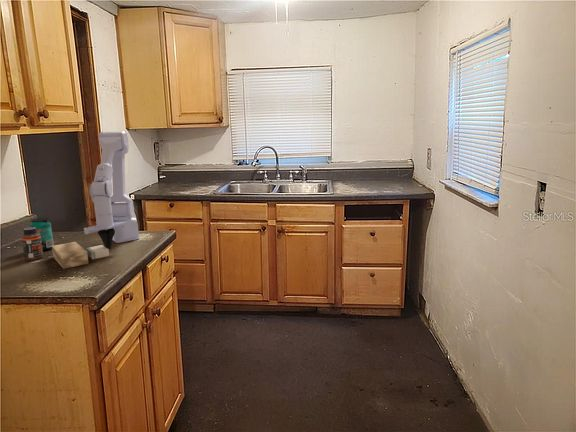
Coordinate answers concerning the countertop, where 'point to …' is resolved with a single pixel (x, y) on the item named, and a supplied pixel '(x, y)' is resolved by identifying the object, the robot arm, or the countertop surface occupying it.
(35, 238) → the supplement bottle
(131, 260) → the countertop surface
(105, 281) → the countertop surface
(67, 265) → the tan rectangular block
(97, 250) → the white block
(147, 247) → the countertop surface
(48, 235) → the beverage can
